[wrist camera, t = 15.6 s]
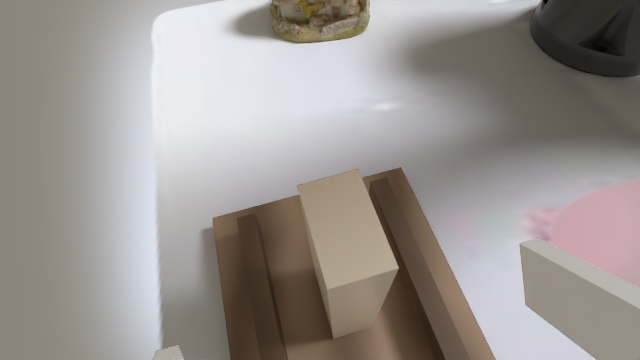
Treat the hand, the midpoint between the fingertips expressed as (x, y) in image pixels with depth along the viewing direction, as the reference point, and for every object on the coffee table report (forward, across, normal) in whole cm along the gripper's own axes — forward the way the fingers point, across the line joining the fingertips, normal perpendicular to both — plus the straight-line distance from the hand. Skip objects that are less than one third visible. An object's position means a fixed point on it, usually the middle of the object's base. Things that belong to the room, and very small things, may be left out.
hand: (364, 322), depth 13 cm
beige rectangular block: (+13, 0, -7) cm, 15 cm away
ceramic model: (+41, +9, +18) cm, 45 cm away
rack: (+14, 0, -8) cm, 16 cm away
